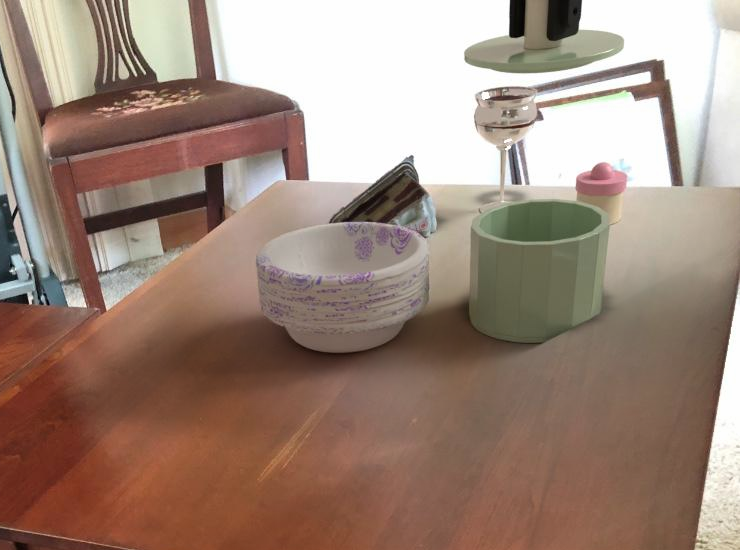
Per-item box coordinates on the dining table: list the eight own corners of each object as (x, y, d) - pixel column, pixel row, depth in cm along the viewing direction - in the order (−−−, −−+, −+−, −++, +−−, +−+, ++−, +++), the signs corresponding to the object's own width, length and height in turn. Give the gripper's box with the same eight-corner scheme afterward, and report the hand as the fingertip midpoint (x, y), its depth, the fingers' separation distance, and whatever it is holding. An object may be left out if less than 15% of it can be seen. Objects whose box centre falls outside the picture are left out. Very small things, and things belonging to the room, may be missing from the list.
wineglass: (466, 202, 113) (468, 90, 105) (524, 196, 113) (530, 83, 105) (477, 221, 108) (480, 104, 100) (537, 214, 108) (545, 96, 100)
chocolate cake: (352, 263, 103) (429, 169, 98) (320, 228, 106) (393, 136, 102) (398, 298, 110) (472, 212, 105) (367, 264, 114) (437, 180, 109)
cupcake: (632, 216, 104) (639, 159, 100) (602, 230, 102) (608, 172, 98) (592, 207, 107) (597, 153, 104) (562, 221, 105) (567, 165, 101)
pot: (620, 330, 83) (633, 231, 77) (493, 351, 82) (497, 253, 77) (569, 283, 92) (577, 191, 86) (454, 302, 91) (455, 211, 86)
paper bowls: (443, 301, 91) (444, 216, 86) (410, 374, 80) (408, 281, 75) (292, 297, 96) (284, 216, 91) (241, 365, 85) (229, 277, 80)
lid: (650, 62, 73) (663, -41, 69) (493, 87, 72) (496, -16, 68) (584, 37, 82) (591, -55, 78) (444, 59, 82) (444, -33, 77)
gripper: (702, -298, 61) (662, 32, 73) (502, -262, 71) (495, 22, 83) (631, -292, 58) (601, 53, 69) (432, -255, 68) (434, 39, 80)
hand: (543, 33), depth 76 cm, fingers closed on lid, 3 cm apart
